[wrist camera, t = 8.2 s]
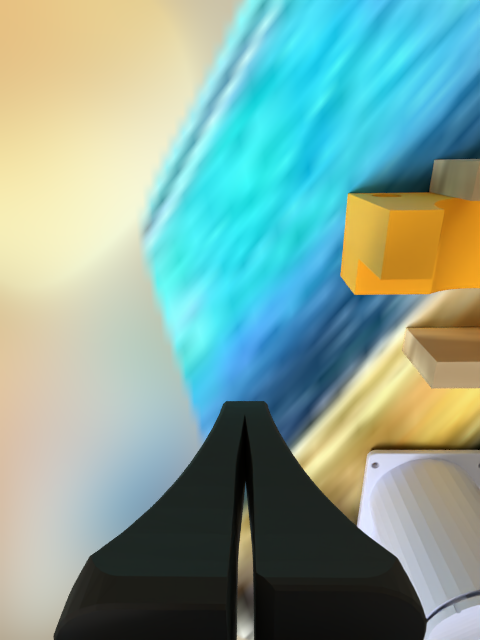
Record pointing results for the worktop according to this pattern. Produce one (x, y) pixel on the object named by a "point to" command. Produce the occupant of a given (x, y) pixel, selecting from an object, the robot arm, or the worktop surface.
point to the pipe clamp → (410, 243)
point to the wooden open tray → (449, 343)
